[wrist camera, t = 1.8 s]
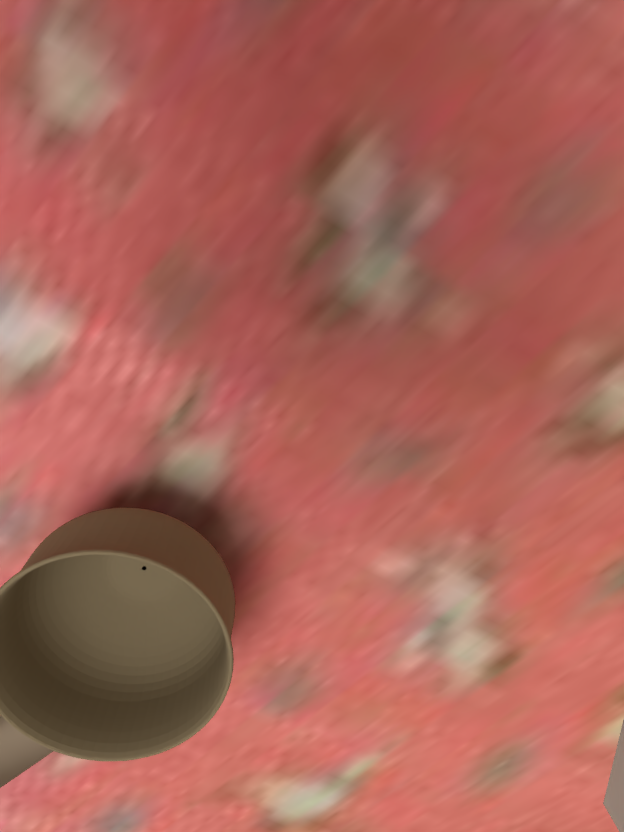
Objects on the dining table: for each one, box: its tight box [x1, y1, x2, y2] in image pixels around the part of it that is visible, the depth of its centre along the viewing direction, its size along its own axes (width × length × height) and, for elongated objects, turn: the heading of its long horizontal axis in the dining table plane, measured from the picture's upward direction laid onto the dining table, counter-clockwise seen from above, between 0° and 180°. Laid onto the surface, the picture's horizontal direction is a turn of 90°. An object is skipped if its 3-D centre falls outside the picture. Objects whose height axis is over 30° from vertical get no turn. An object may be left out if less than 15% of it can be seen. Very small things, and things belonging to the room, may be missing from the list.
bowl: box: [0, 508, 235, 761], centre depth 33 cm, size 13×13×10 cm
